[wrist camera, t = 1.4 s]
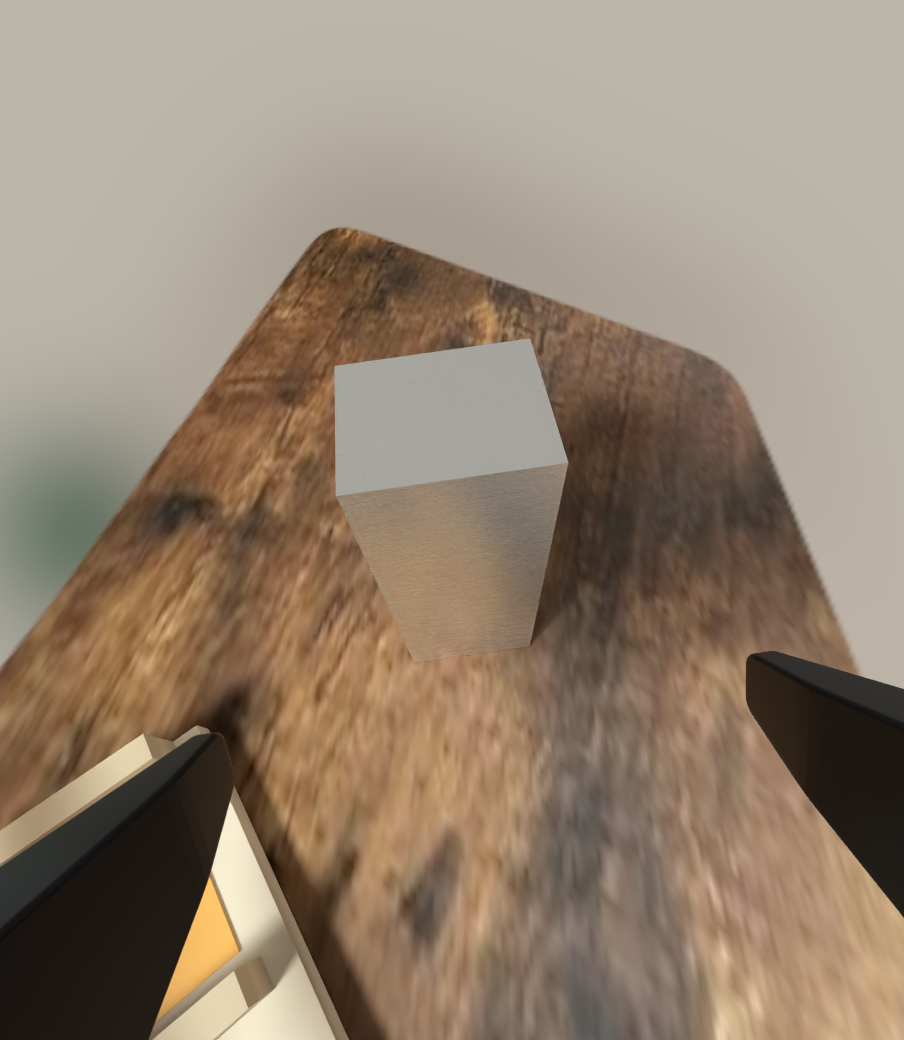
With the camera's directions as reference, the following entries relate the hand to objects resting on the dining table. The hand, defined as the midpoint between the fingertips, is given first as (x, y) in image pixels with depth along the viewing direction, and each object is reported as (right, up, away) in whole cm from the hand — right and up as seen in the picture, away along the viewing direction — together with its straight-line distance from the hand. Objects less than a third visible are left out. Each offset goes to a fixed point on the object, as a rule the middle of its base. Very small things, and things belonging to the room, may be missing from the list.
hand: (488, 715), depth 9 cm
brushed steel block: (0, -1, +14) cm, 14 cm away
